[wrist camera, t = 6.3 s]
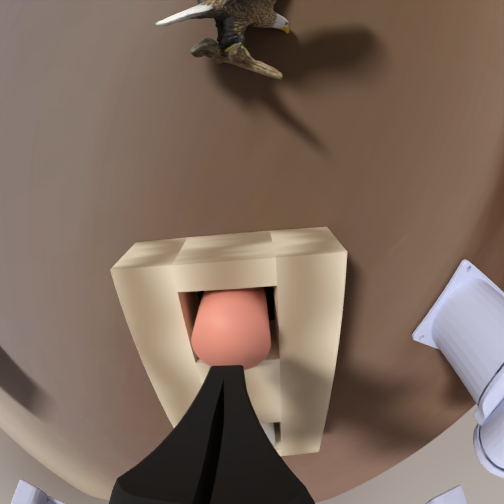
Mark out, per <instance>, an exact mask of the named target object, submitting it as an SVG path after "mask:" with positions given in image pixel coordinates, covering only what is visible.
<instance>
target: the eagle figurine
mask: <svg viewBox="0 0 504 504" xmlns="http://www.w3.org/2000/svg"><path fill="white" fill-rule="evenodd" d="M197 1H198V3H201V4H199V5H197V6H195V7H192V8H190V9H187V10H185V11H183V12H180V13H178V14H175V15H173V16H170V17H168V18H166V19H164V20H161V21H159V22H157V23H156V24H155V25H157V26H167V25H170V24H173V23H176V22H180V21H184V20H187V19H195V18H197V19H202V18H214V19H215V21H216V27H217V30H218V38H217V41H218V43H219V44H218V43H217V42H216V41H214V40H213V39H210V38H206V39H204V40H203V41H202V42H200V43H198V44H196V45H195V46H193V47H192V48H191V50H190V53H191V54H192V55H193V56H194V57H202V56H206V57H209V58H216V61H215V62H216V64H218V65H221V64H222V63H223V62H225V63H228V64H234V65H236V66H238V67H241V68H244V69H247V70H250V71H253V72H256V73H259V74H262V75H265V76H267V77H270V78H275V79H278V80H281V79H283V76H282V74H281V72H279V71H278V70H277V69H275V68H274V67H271V66H269V65H266V64H264V63H263V62H261V61H256V60H254V59H253V58H252V57H251V56H250V54H249V52H248V51H247V49H246V48H244V42H245V38H244V35H243V33H244V31H245V29H246V27H247V26H253V27H260V28H267V27H270V28H277V29H281V30H283V31H285V32H286V33H289V27H288V23H289V22H288V21H287V20H286V19H285V18H284V17H283V16H281V15H279V14H277V13H275V12H274V11H273V6H274V4H275V3H276V1H277V0H197ZM202 49H205V50H202Z"/></svg>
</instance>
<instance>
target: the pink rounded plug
mask: <svg viewBox="0 0 504 504" xmlns="http://www.w3.org/2000/svg"><path fill="white" fill-rule="evenodd" d="M191 343H192V347H193V350H194V352H195V353H196V355H197V356H198V357H199V358H200V359H201V360H202V361H203V362H204V363H206V364H207V365H209V366H223V365H242V366H243V367H244V370H247V369H250V368H253V367H255V366H257V365H258V364H260V363H261V362H262V361H263V360H264V359H265V358H266V357H267V355H268V353H269V351H270V347H271V338H270V328H269V319H268V309H267V300H266V292H265V289H264V287H253V288H240V289H225V290H209V291H203V294H202V298H201V302H200V306H199V309H198V313H197V317H196V321H195V325H194V329H193V333H192V338H191Z"/></svg>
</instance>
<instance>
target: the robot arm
mask: <svg viewBox="0 0 504 504" xmlns="http://www.w3.org/2000/svg"><path fill="white" fill-rule="evenodd" d="M467 268H468V269H467ZM420 336H421V337H420ZM412 338H413V340H415V341H417V342H420V343H423V344H425V345H428V346H431V347H434V348H436V349H439V350H441V352H442V353H443V355H444V356H445V357H446V359H447V360H448V362H449V363H450V364H451V366H452V367H453V369H454V370H455V372H456V373H457V375H458V376H459V378H460V379H461V381H462V382H463V384H464V385H465V387H466V388H467V390H468V391H469V393H470V394H471V396H472V397H473V399H474V401H475V402H476V404H477V405H478V409H477V410H476V411H475V413H474V417H475V419H476V420H477V422H478V424H477V426H476V428H475V431H474V436H473V443H474V449H475V452H476V455H477V458H478V460H479V461H480V463H481V465H482V466H483V467H484V468H485V469H486V470H488V471H489V472H491V473H492V474H495V475H497V476H500V477H502V478H503V479H504V292H503V291H501V290H500V289H499V288H498V287H497V286H496V285H495V284H494V283H493V282H492V281H491V280H490V279H489V278H487V277H486V276H485V275H484V274H483V273H482V272H481V271H480V270H478V269H477V268H476V267H475V266H474V265H473V264H471V263H470V262H469V261H468V260H466V259H465V260H463V261H462V262H461V263H460V265H459V267H458V268H457V270H456V272H455V273H454V275H453V276H452V278H451V280H450V281H449V283H448V284H447V286H446V287H445V289H444V290H443V292H442V293H441V295H440V296H439V298H438V299H437V301H436V302H435V304H434V305H433V307H432V308H431V309H430V311H429V312H428V314H427V315H426V316H425V318H424V319H423V320H422V322H421V323H420V324H419V326H418V327H417V328H416V330H415V331H414V332H413V334H412ZM11 504H65V503H63V502H61V501H59V500H56V499H54V498H52V497H50V496H48V495H47V494H45V492H43V491H42V490H40V489H38V488H37V487H35V486H33V485H31V484H29V483H28V482H26V481H24V480H22V479H20V481H19V483H18V486H17V489H16V491H15V494H14V496H13V499H12V502H11ZM109 504H315V502H314V500H313V499H312V497H311V495H310V494H309V492H308V491H307V489H306V487H305V486H304V485H303V483H302V482H301V481H300V480H299V479H298V478H297V477H296V476H295V475H294V473H293V472H292V471H291V470H290V469H289V467H288V466H287V465H286V464H285V462H284V461H283V460H282V458H281V457H280V455H279V454H278V452H277V451H276V450H275V448H274V447H273V445H272V443H271V442H270V440H269V439H268V437H267V435H266V433H265V432H264V430H263V428H262V426H261V424H260V422H259V420H258V418H257V415H256V413H255V411H254V409H253V406H252V403H251V401H250V398H249V395H248V392H247V387H246V380H245V373H244V367H243V366H242V365H223V366H211V367H210V369H209V372H208V374H207V376H206V378H205V380H204V382H203V384H202V386H201V388H200V390H199V392H198V394H197V395H196V397H195V399H194V401H193V402H192V404H191V405H190V407H189V408H188V410H187V411H186V413H185V414H184V416H183V417H182V419H181V420H180V422H179V423H178V424H177V425H176V427H175V428H174V429H173V430H172V432H171V433H170V434H169V435H168V436H167V437H166V438H165V439H164V441H163V442H162V443H161V444H160V445H159V446H158V447H157V448H156V449H155V450H154V451H153V452H151V453H150V454H149V455H148V456H147V457H146V458H144V459H143V460H142V461H141V462H140V463H139V464H137V465H136V466H135V467H133V468H132V469H130V470H129V471H127V472H126V473H124V474H123V475H121V476H120V477H118V478H117V480H116V483H115V485H114V487H113V490H112V494H111V497H110V501H109ZM426 504H468V502H467V500H466V497H465V494H464V492H463V489H462V487H461V485H458V486H456V487H454V488H452V489H450V490H448V491H446V492H444V493H442V494H440V495H438V496H436V497H434V498H432V499H431V500H429V501H428V502H427V503H426Z"/></svg>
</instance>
